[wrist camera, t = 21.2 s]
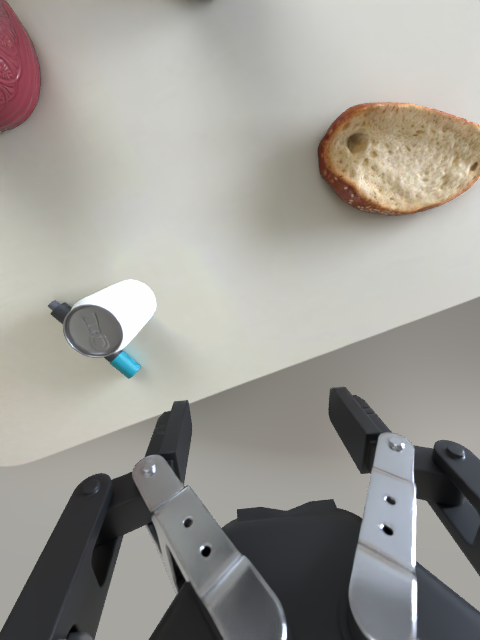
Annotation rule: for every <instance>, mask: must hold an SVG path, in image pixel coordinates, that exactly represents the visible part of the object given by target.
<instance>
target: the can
mask: <svg viewBox="0 0 480 640" xmlns="http://www.w3.org/2000/svg"><path fill="white" fill-rule="evenodd" d="M155 309H156V299H155V296H154V294H153V292H152V291H151V289H150V288H149V287H148V286H146V285H145V284H144V283H142V282H139V281H136V280H124V281H121V282H119V283H116V284H114V285H112V286H109V287H107V288H105V289H103V290H101V291H98V292H96V293H94V294H92V295H90V296H88V297H86V298H84V299H82V300H80V301H79V302H77V303H76V304H75V305H74V306H73V307H72V309H71V310H70V311H69V312H68V314H67V315H66V317H65V319H64V322H63V332H64V336H65V338H66V340H67V342H68V343H69V344H70V346H71V347H72V348H73V349H75V350H76V351H77V352H79V353H81V354H83V355H85V356H88V357H93V358H101V357H106V356H109V355H111V354H113V353H116V352H118V351H120V350H122V349H123V348H124V347H126V346H127V345H128V344H129V342H130V341H131V340H132V339H133V338H134V337H135V336H136V335H137V333H138V332H139V331H140V330H141V329H142V328H143V327H144V325H145V324H146V323H147V322H148V321H149V320H150V318H151V317H152V316H153V314H154V312H155Z"/></svg>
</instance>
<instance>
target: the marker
mask: <svg viewBox="0 0 480 640" xmlns="http://www.w3.org/2000/svg"><path fill="white" fill-rule="evenodd" d="M48 307H49V308H50V309H52V310H53V311H52V312H51V315H52V316H53V317H55V318H56V319H57V320H58V321H59V322H61V323H62V324H63V322H64V319H65V317H66V315H67V314H68V312H69V311H70V310H71V309H72V308H71V307H70V306H69V305H67V304H66V303H63V304H59V303H58V302H57V301H56V300H55V301H53V302H51V303H50V304H49V305H48ZM104 358H105V359H106V360H107V361H109V362H110V364H111V365H112V366H114V367H115V368H116V369H117V370H119V371H120V372H121V373H122V374H124V375H125V376H126V377H127V378H131V377H132V376H133V375H134V374H135V373H136V372H137V371H138V370H139V369H140V367H141V366H140V365H139V364H137V363H136V362H135V361H134V360H133V359H132V358H130V357H129V356H128V355H127V354H126V353H124V352H123V351H122V350H120V351H118V352H116V353H113V354H111V355H109V356H106V357H104Z"/></svg>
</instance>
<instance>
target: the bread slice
mask: <svg viewBox="0 0 480 640" xmlns="http://www.w3.org/2000/svg"><path fill="white" fill-rule="evenodd" d="M318 156H319V168H320V173H321V175H322V177H323V178H324V179H325V180H326V181H327V182H328V183H329V184H330V185H331V187H332V188H333V189H334V190H335V191H336V192H337V194H338V195H339V197H340V198H341V199H342V200H343V201H344V202H346V203H348V204H350V205H352V206H354V207H356V208H357V209H359V210H364V211H367V212H372V213H378V214H386V215H404V214H409V213H416V212H420V211H425V210H428V209H431V208H434V207H437V206H440V205H442V204H445V203H446V202H449V201H451V200H453V199H454V198H456V197H457V196H459V195H460V194H462V193H463V192H465V191H466V190H468V189H469V188H470V187H471V186H472V185H473V184H474V183H475V182H476V181H477V180H478V178H479V177H480V125H478V124H476V123H473V122H468V121H467V120H466V119H463V118H459V117H456V116H454V115H450V114H447V113H444V112H442V111H438V110H435V109H429V108H427V107H422V106H418V105H413V104H409V103H391V102H390V103H365V104H359V105H356V106H353V107H350V108H349V109H347V110H346V111H345V112H343V113H342V114H341V115H340V116H339V117H338V118H337V119H336V120H335V121H334V122H333V123H332V125H331V126H330V128H329V129H328V131H327V133H326V134H325V136H324V137H323V139H322V140H321V142H320V144H319V147H318Z"/></svg>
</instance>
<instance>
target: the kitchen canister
mask: <svg viewBox="0 0 480 640" xmlns="http://www.w3.org/2000/svg"><path fill="white" fill-rule="evenodd" d="M39 93H40V68H39V63H38V58H37V55H36V52H35V49H34V46H33V44H32V41H31V39H30V37H29V35H28V33H27V31H26V30H25V28H24V26H23V25H22V23H21V22H20V21H19V19H18V17H17V16H16V14H15V12H14V11H13V10H12V8H11V7H10V5H9V4H8V3H7V2H6V0H0V131H4V130H9V129H12V128H14V127H17V126H18V125H20V124H21V123H23V122H24V121H25V120H26V119H27V118H28V117H29V116H30V115H31V113H32V112H33V110H34V108H35V106H36V103H37V101H38V97H39Z"/></svg>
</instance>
